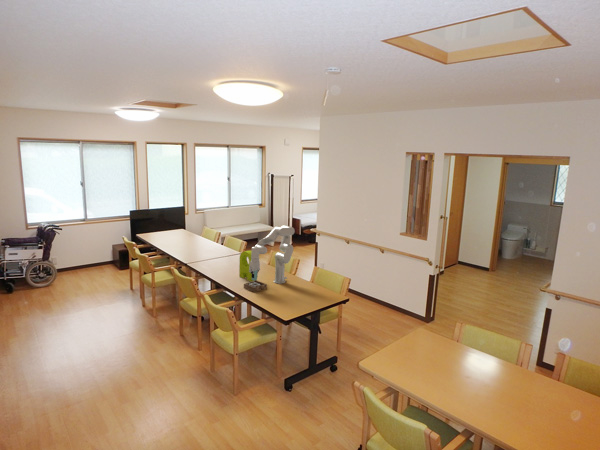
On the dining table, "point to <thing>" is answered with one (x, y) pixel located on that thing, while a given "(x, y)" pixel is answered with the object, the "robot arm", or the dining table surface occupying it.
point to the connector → (255, 276)
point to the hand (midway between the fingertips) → (254, 277)
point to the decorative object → (245, 265)
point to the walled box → (255, 286)
